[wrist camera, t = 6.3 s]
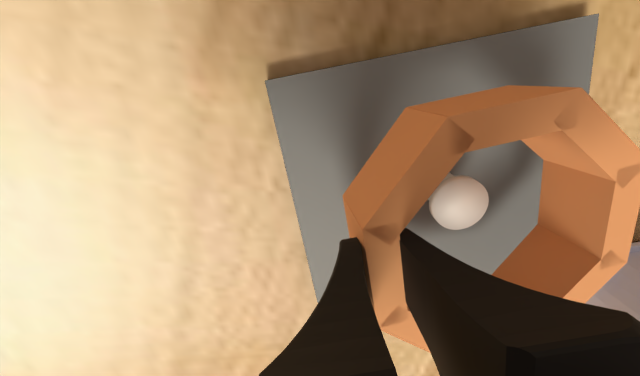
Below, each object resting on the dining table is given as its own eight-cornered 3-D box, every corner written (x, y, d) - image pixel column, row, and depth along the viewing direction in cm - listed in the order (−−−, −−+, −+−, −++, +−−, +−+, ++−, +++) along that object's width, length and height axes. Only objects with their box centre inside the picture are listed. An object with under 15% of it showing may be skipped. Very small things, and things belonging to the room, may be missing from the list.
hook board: (581, 17, 15) (671, -2, 11) (555, 253, 20) (611, 294, 16) (267, 80, 16) (253, 82, 12) (318, 294, 21) (319, 343, 17)
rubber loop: (578, 70, 12) (671, 67, 9) (553, 277, 16) (614, 319, 13) (329, 123, 11) (348, 138, 8) (364, 326, 15) (385, 383, 12)
